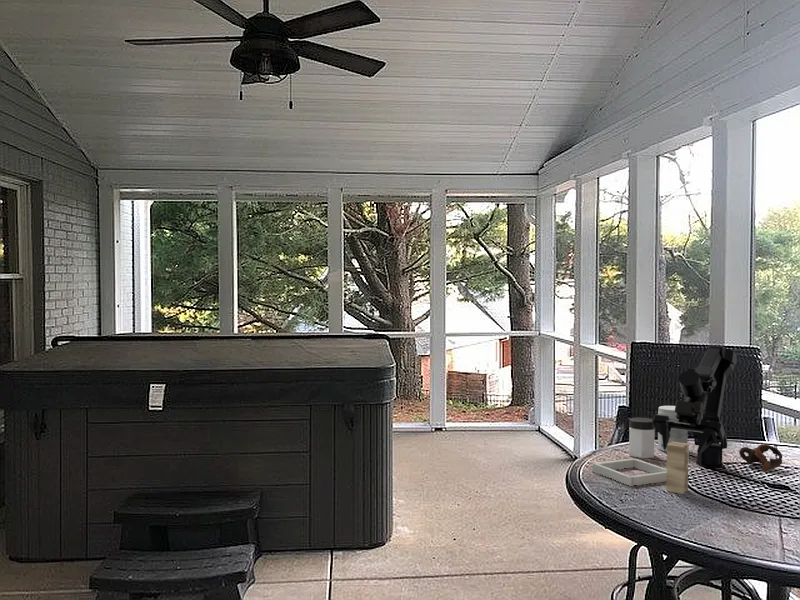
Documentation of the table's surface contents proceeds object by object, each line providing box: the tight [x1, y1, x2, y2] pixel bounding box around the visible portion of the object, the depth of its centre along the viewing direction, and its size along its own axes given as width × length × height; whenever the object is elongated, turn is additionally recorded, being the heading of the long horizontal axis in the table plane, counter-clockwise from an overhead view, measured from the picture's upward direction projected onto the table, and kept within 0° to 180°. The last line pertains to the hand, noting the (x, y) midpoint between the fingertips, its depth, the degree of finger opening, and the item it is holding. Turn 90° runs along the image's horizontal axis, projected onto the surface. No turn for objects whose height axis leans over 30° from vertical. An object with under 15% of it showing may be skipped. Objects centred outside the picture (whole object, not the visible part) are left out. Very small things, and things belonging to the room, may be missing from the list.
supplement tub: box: [657, 405, 689, 453], centre depth 238 cm, size 10×10×15 cm
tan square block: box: [665, 442, 690, 495], centre depth 192 cm, size 4×4×13 cm
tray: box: [592, 457, 667, 487], centre depth 207 cm, size 16×16×2 cm
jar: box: [628, 417, 656, 459], centre depth 231 cm, size 9×8×12 cm
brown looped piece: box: [738, 444, 783, 472], centre depth 217 cm, size 12×10×8 cm
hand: (681, 451), depth 194 cm, fingers open, 9 cm apart
